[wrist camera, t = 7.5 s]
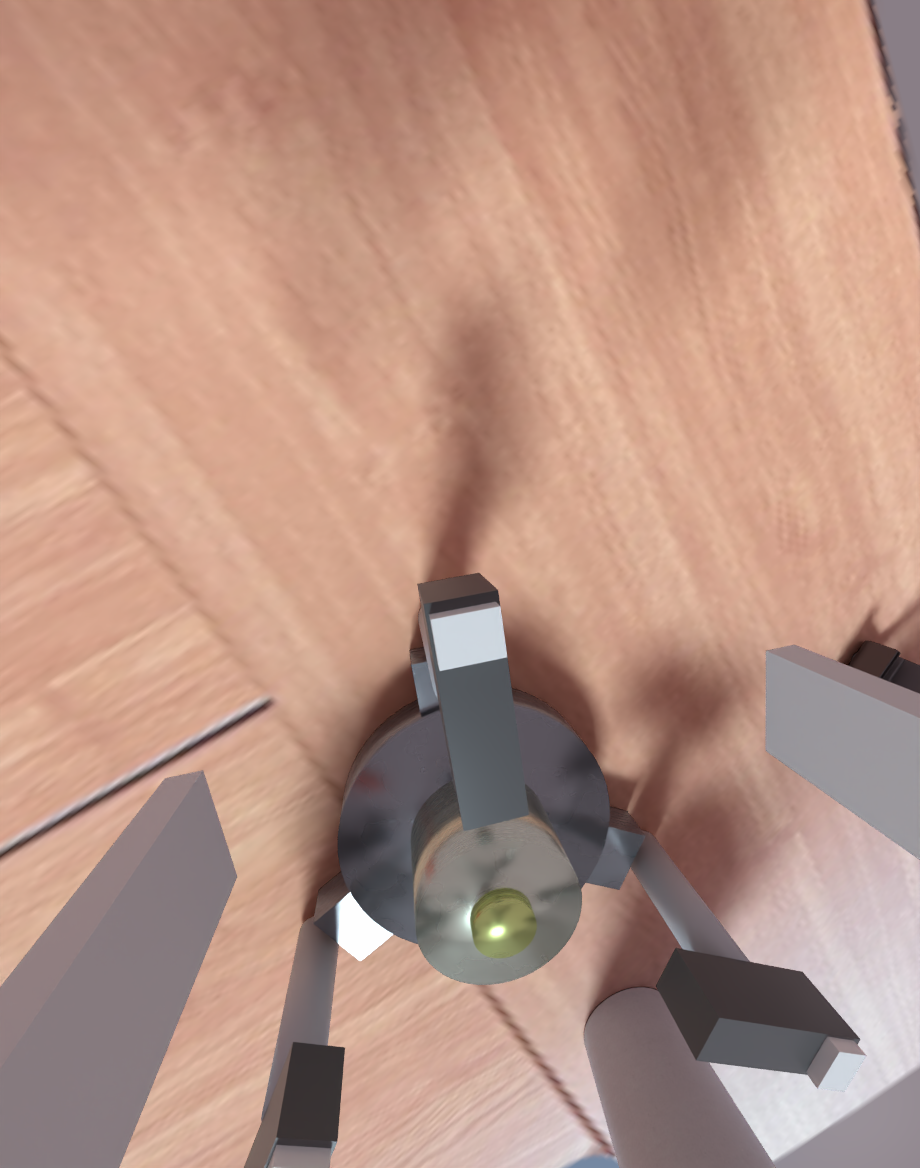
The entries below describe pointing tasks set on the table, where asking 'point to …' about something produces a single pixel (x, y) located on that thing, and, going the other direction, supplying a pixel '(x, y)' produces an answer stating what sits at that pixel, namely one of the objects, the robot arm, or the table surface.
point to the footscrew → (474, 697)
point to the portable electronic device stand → (887, 665)
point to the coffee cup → (662, 1091)
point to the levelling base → (425, 768)
